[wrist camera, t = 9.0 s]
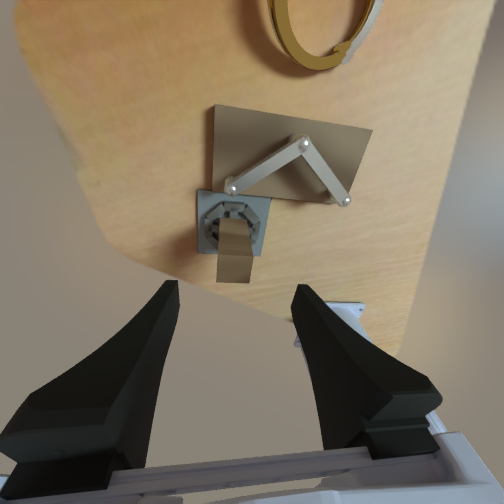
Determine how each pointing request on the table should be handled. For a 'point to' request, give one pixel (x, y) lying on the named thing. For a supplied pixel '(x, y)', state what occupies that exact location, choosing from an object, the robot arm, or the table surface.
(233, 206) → the ring wand
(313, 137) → the base
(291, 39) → the ring
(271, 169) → the bent wire
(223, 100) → the table surface
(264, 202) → the mat
